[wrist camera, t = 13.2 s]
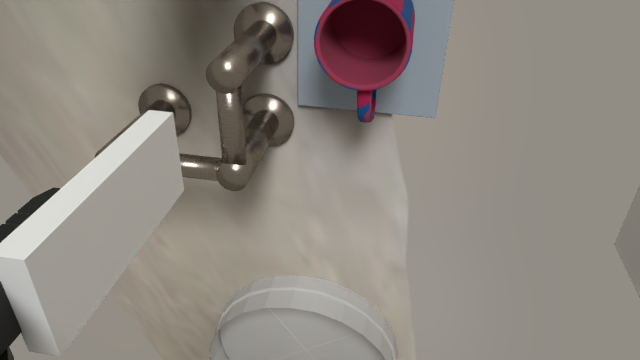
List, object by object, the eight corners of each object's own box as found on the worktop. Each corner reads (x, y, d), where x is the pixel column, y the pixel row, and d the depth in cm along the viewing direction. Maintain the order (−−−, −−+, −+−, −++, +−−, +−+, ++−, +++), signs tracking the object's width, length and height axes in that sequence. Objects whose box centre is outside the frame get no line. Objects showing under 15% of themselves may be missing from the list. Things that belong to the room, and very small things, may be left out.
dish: (187, 307, 64) (170, 338, 59) (332, 247, 54) (324, 279, 50) (289, 411, 72) (280, 445, 67) (431, 375, 62) (431, 412, 58)
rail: (121, -8, 43) (44, 25, 34) (293, 4, 41) (257, 42, 32) (146, 129, 50) (87, 185, 41) (294, 145, 48) (264, 208, 39)
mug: (421, -23, 38) (420, -2, 32) (402, 101, 43) (398, 138, 37) (332, -31, 38) (316, -12, 33) (324, 92, 44) (309, 126, 38)
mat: (299, -42, 39) (298, -41, 39) (458, -34, 37) (459, -32, 37) (299, 102, 46) (298, 104, 45) (435, 115, 44) (435, 118, 43)
